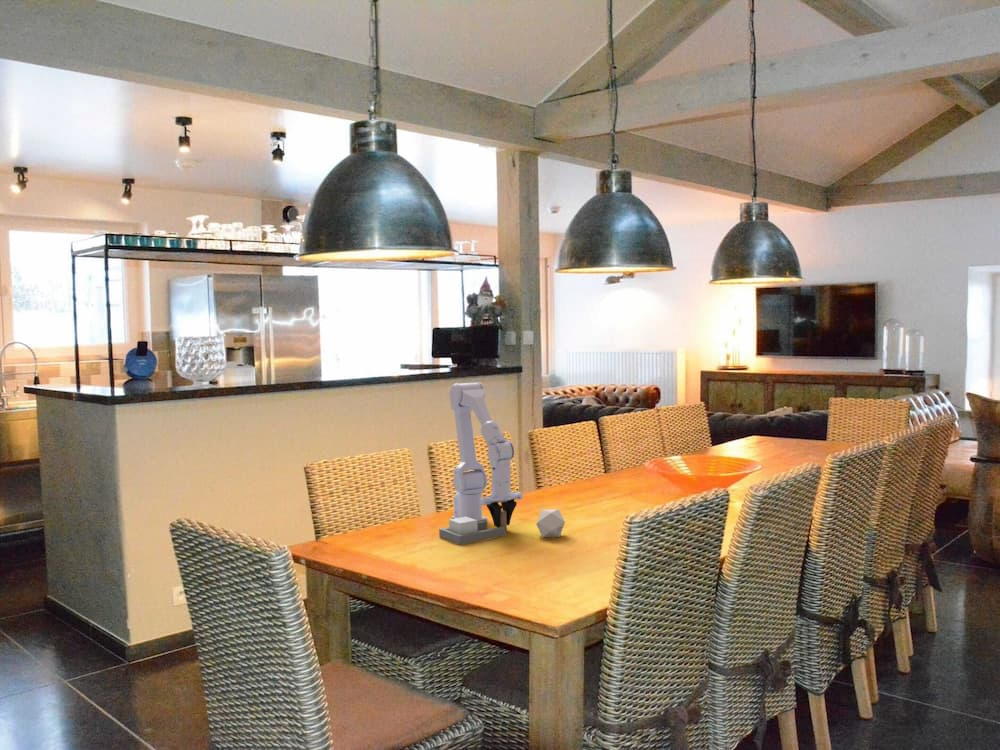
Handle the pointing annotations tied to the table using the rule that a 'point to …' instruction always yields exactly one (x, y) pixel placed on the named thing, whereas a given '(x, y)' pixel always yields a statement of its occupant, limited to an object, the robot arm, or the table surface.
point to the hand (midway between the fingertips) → (501, 525)
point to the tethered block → (472, 524)
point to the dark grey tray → (472, 534)
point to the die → (550, 523)
